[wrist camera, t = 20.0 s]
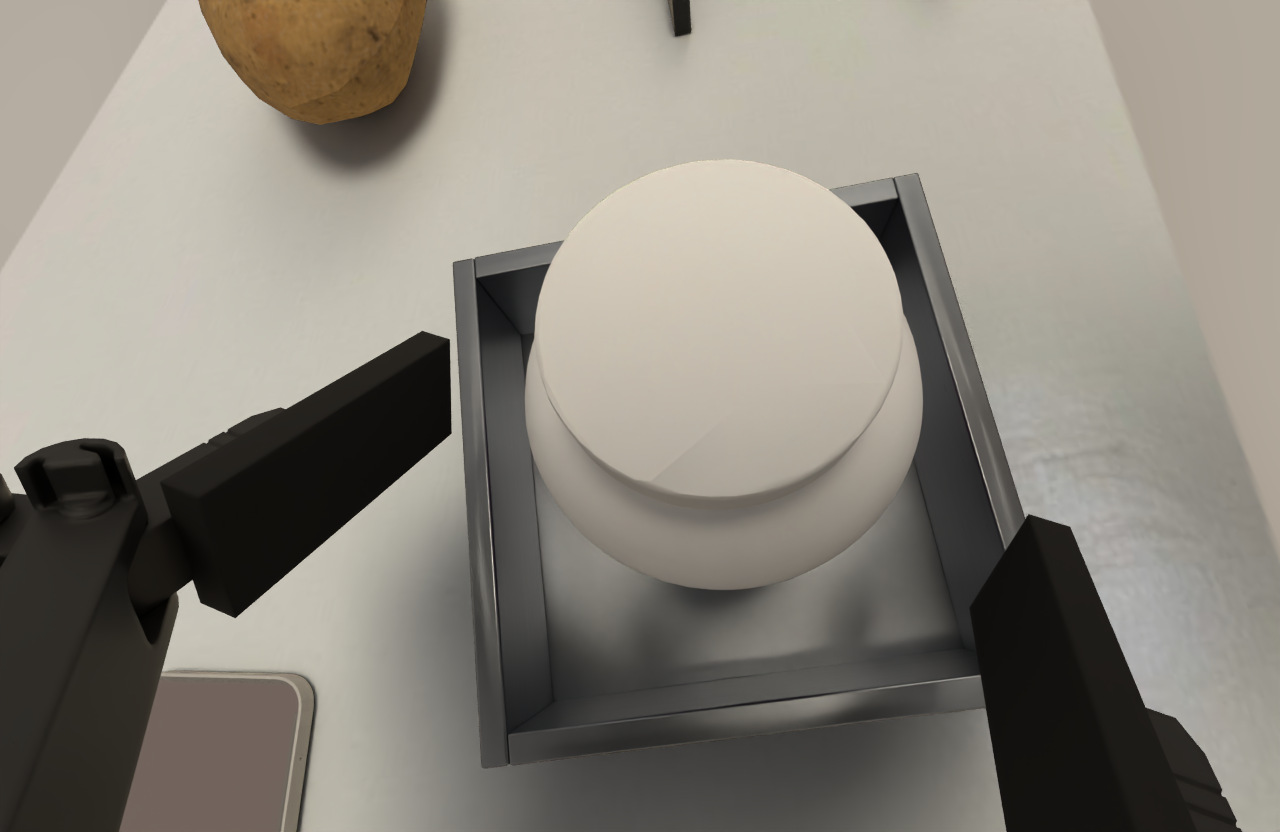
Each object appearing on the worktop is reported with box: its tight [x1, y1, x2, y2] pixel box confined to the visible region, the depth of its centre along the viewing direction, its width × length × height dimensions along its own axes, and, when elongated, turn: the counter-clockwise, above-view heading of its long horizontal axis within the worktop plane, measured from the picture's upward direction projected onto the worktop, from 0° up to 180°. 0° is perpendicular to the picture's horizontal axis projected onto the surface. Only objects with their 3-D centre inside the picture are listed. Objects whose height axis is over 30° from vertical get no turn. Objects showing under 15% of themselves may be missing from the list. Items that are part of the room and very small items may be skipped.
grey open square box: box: [453, 173, 1025, 769], centre depth 21 cm, size 16×16×6 cm
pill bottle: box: [525, 160, 923, 590], centre depth 16 cm, size 8×8×14 cm
